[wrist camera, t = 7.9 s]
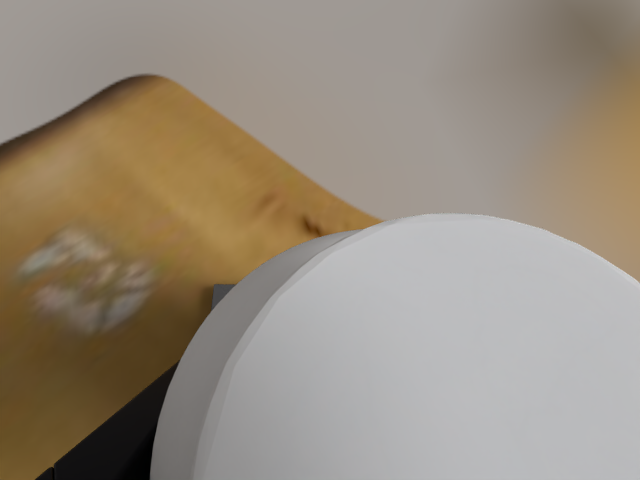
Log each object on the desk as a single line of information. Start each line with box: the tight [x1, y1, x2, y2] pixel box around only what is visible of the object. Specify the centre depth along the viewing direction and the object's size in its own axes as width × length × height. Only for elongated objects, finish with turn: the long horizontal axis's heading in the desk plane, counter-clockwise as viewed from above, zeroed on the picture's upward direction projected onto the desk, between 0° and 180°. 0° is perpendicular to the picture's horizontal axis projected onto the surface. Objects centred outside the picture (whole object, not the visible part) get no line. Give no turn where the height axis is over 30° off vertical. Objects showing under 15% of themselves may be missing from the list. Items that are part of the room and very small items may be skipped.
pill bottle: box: [150, 213, 640, 480], centre depth 9 cm, size 8×7×14 cm
